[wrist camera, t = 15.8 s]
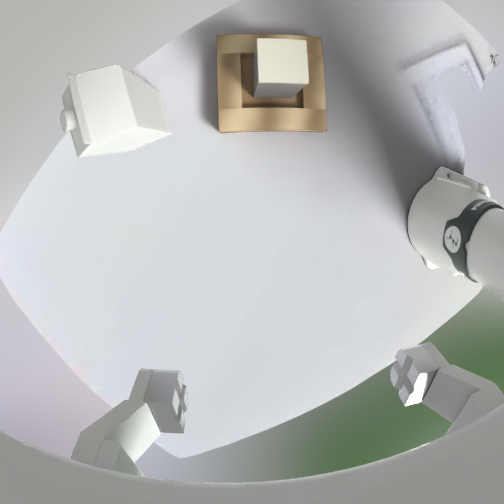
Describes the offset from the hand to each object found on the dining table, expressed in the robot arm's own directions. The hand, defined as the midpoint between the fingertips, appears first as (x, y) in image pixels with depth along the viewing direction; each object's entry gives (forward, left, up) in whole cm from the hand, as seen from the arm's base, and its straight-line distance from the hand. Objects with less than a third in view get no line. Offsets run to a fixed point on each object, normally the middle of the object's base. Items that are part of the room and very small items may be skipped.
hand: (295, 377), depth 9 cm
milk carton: (+15, -13, -33) cm, 39 cm away
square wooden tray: (-3, -17, -33) cm, 37 cm away
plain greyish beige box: (-3, -17, -31) cm, 36 cm away
